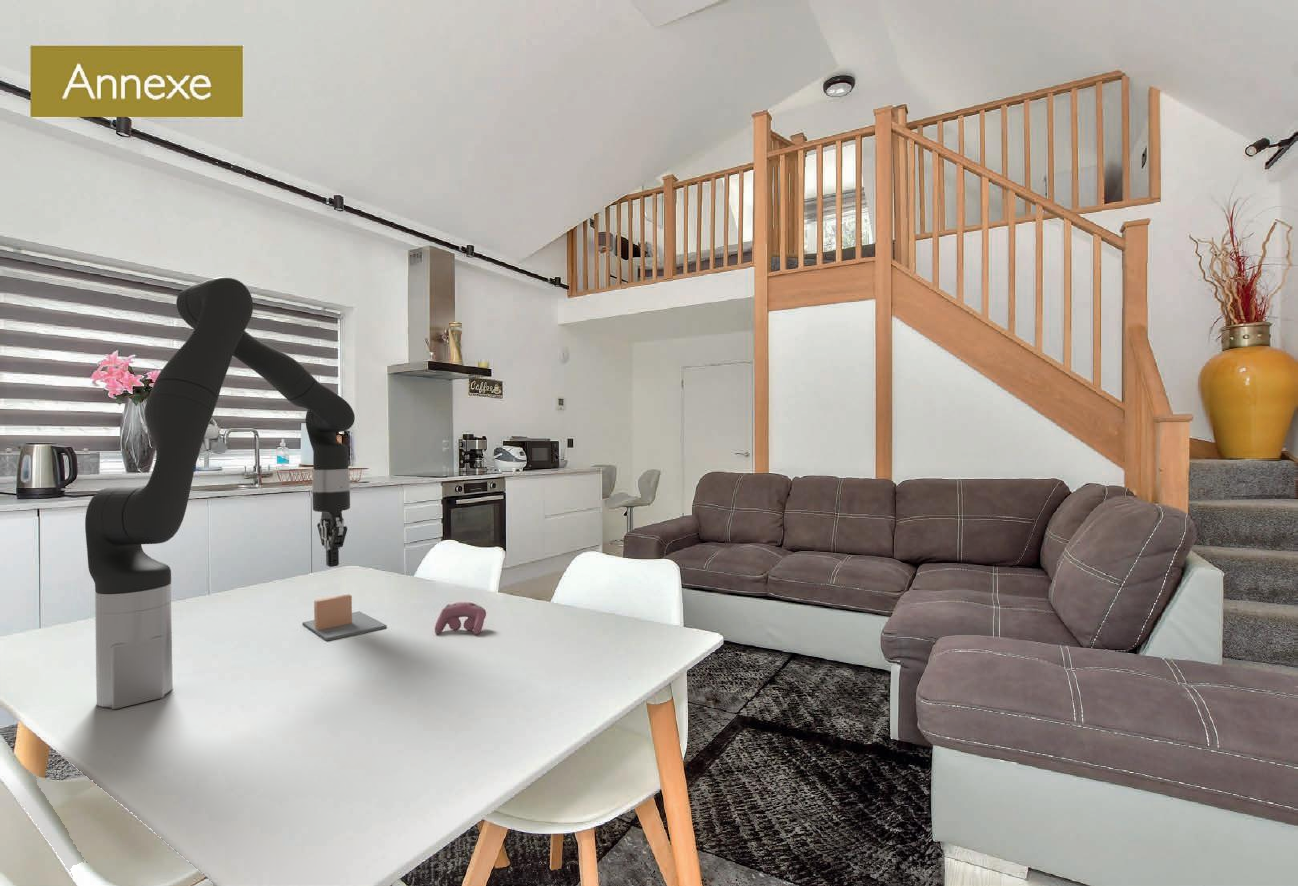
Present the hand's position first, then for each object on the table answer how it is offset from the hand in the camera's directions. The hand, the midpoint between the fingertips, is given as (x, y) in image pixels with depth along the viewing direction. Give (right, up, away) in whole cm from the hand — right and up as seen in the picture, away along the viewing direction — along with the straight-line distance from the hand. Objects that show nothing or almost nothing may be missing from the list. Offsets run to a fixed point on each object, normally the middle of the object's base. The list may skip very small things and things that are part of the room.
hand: (332, 565), depth 138 cm
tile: (+6, -9, -4) cm, 11 cm away
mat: (+5, -12, -5) cm, 14 cm away
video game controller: (+32, -12, -9) cm, 35 cm away
